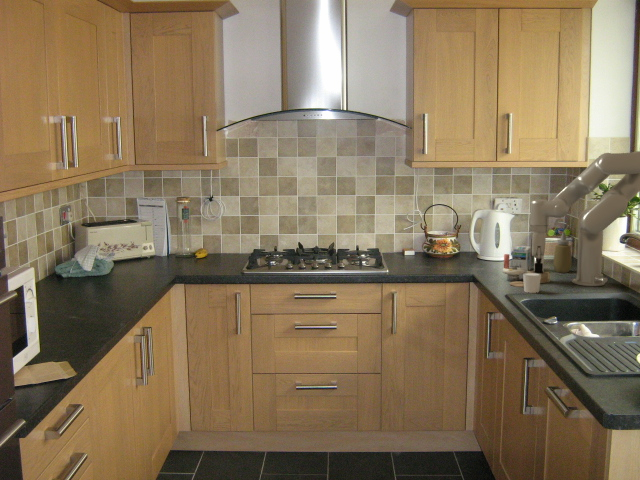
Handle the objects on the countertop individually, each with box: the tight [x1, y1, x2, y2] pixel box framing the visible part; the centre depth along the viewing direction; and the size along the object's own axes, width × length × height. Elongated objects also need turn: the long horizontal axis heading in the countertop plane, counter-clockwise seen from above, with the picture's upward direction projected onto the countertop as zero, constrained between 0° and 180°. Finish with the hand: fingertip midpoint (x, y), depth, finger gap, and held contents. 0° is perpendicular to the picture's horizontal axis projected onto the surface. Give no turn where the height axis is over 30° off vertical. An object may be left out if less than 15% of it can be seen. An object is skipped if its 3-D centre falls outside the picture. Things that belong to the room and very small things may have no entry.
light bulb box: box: [512, 245, 532, 273], centre depth 330 cm, size 11×7×11 cm, turn 155°
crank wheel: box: [502, 253, 525, 275], centre depth 308 cm, size 9×9×8 cm
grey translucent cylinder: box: [533, 254, 545, 273], centre depth 305 cm, size 4×4×11 cm
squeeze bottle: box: [553, 231, 573, 274], centre depth 325 cm, size 8×8×18 cm
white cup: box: [522, 273, 541, 294], centre depth 287 cm, size 7×7×7 cm
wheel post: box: [506, 274, 521, 282], centre depth 309 cm, size 5×5×3 cm
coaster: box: [509, 280, 524, 288], centre depth 299 cm, size 9×9×1 cm
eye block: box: [526, 270, 551, 284], centre depth 306 cm, size 7×7×4 cm
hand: (538, 271), depth 305 cm, fingers closed on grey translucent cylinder, 3 cm apart
